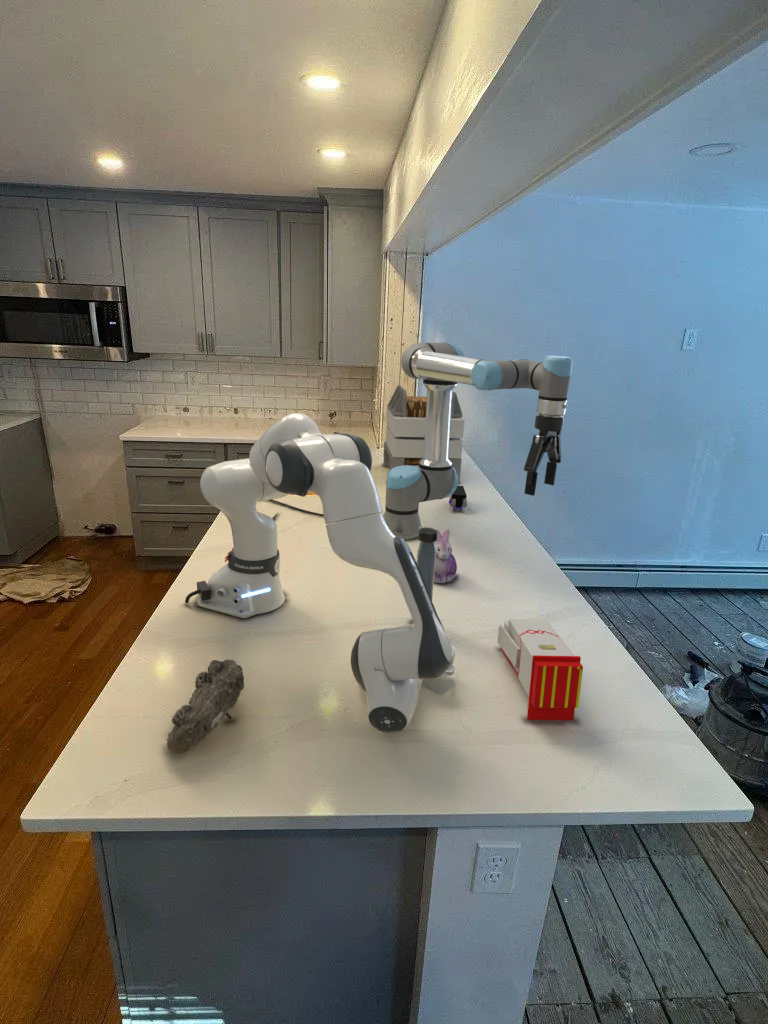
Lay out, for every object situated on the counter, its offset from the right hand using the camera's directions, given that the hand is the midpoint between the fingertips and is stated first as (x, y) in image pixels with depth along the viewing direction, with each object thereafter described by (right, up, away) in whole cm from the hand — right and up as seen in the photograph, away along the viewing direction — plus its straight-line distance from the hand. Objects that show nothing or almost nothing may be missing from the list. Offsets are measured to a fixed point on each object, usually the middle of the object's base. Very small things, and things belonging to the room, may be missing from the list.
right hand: (539, 489), depth 162 cm
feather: (-84, -8, +49) cm, 98 cm away
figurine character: (-15, -5, +68) cm, 69 cm away
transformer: (-27, +12, +113) cm, 117 cm away
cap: (-34, -11, -27) cm, 45 cm away
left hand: (-38, -34, -33) cm, 61 cm away
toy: (-12, -43, -38) cm, 59 cm away
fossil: (-77, -46, -54) cm, 104 cm away
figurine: (-27, -26, +7) cm, 38 cm away
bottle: (-35, -35, -18) cm, 53 cm away
